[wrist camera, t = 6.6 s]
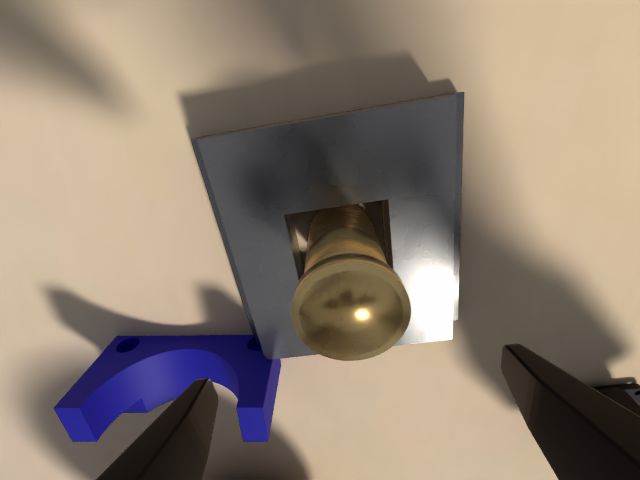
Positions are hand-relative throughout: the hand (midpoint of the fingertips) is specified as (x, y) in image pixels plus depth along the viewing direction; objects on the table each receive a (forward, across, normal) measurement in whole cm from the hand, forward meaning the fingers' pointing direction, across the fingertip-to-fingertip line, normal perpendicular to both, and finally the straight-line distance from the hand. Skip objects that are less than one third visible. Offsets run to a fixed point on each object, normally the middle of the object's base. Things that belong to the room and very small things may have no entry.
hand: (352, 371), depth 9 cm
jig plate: (+11, 0, 0) cm, 11 cm away
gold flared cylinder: (+11, 0, 0) cm, 11 cm away
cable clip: (+11, +12, +9) cm, 18 cm away
